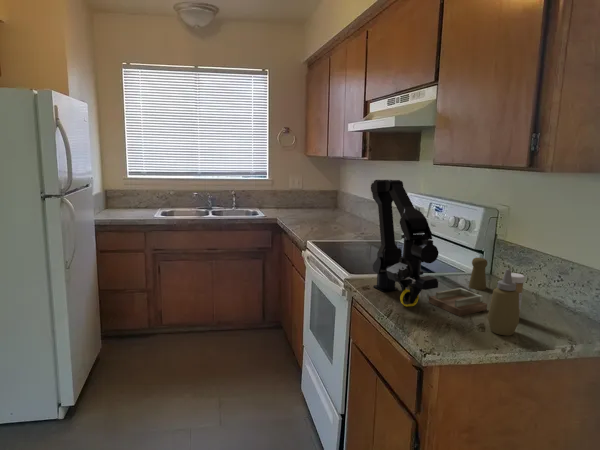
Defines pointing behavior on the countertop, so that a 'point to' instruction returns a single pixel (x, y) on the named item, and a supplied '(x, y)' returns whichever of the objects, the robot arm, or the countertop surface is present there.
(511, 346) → the countertop surface
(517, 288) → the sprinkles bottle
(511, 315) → the squeeze bottle
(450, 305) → the dock
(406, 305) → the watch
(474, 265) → the wooden pepper mill
